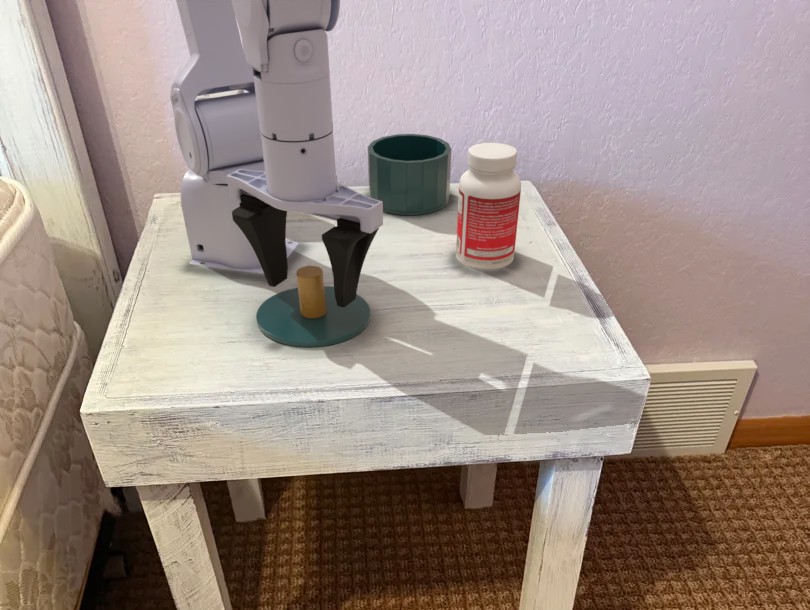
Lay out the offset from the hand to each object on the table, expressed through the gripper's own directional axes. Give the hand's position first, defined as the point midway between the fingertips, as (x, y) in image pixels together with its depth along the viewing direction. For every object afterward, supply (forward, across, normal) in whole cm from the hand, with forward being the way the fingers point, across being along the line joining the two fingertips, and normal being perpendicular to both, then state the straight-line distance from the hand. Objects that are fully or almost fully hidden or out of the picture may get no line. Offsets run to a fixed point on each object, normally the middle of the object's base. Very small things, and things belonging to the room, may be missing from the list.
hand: (311, 291), depth 69 cm
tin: (+3, +7, -30) cm, 31 cm away
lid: (+2, 0, 0) cm, 2 cm away
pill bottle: (+3, -8, -20) cm, 22 cm away
